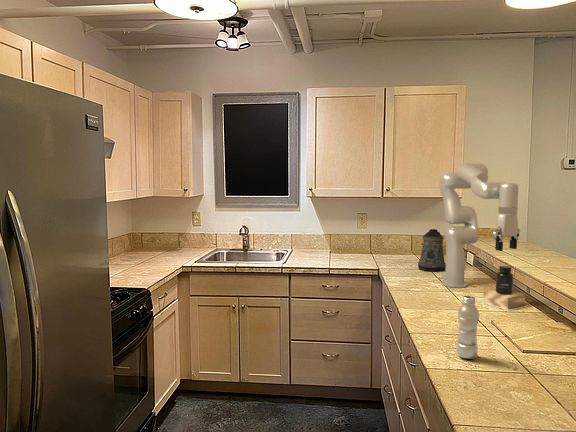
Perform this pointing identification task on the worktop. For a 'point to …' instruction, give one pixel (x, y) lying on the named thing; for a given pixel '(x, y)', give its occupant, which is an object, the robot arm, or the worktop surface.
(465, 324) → the plastic bottle
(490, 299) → the oak plinth
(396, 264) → the worktop surface
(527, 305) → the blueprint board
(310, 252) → the worktop surface
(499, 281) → the supplement bottle
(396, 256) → the worktop surface
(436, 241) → the dark grey bell
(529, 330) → the worktop surface
